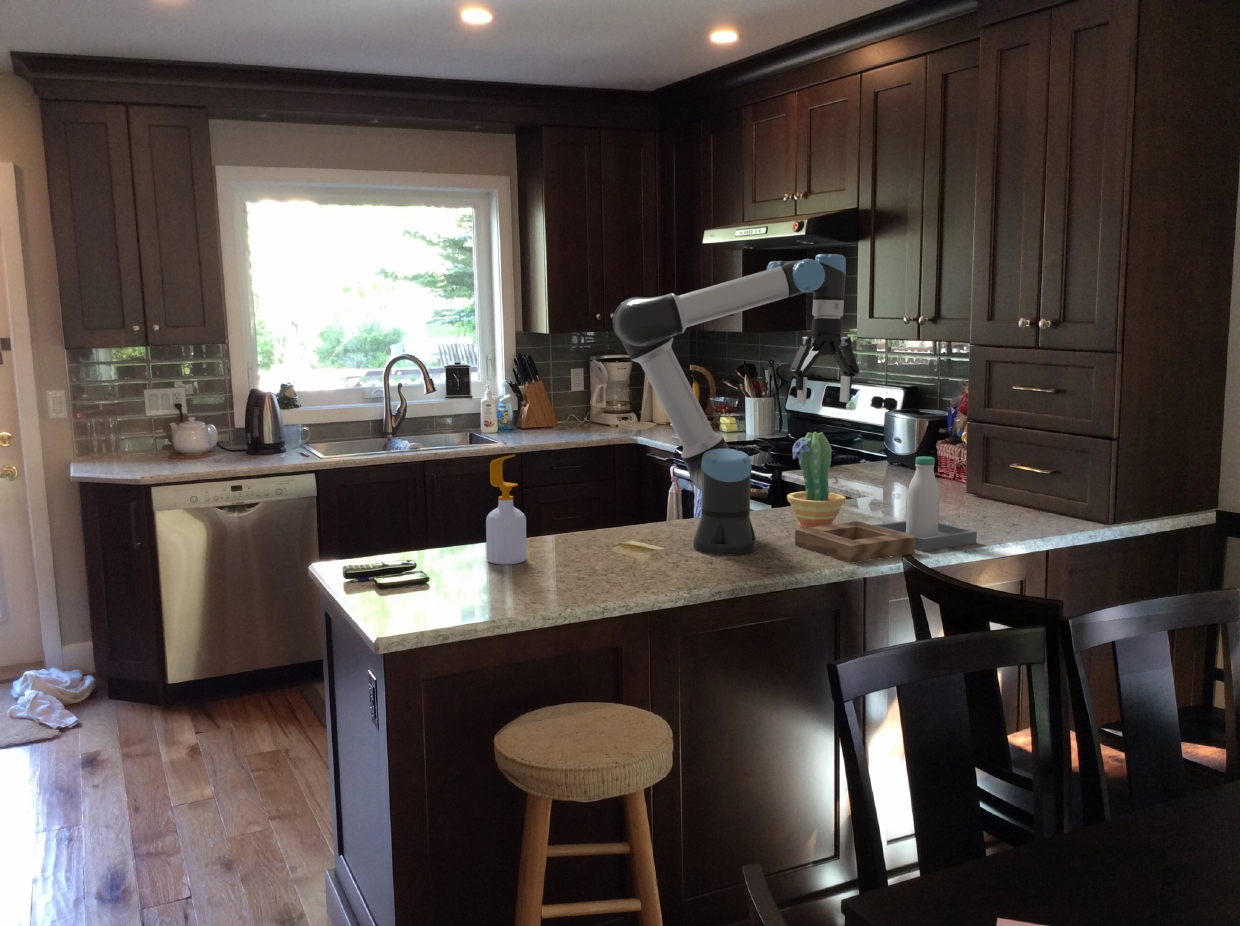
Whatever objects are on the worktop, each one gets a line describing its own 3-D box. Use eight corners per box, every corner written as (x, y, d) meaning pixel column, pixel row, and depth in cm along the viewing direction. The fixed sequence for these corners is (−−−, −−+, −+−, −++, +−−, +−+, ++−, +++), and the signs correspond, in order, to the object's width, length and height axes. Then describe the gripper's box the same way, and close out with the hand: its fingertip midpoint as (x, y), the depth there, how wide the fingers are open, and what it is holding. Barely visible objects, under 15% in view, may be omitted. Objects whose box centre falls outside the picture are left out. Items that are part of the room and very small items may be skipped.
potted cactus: (786, 518, 289) (789, 428, 286) (844, 521, 287) (847, 429, 283) (785, 530, 274) (787, 435, 271) (845, 533, 272) (849, 437, 268)
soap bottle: (510, 567, 236) (508, 458, 232) (478, 561, 241) (476, 455, 237) (534, 558, 244) (533, 453, 240) (503, 553, 248) (501, 450, 245)
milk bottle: (939, 540, 259) (943, 460, 256) (906, 538, 261) (910, 459, 258) (936, 533, 267) (939, 455, 264) (904, 532, 268) (908, 454, 265)
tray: (922, 551, 252) (923, 539, 252) (870, 536, 268) (871, 525, 267) (976, 543, 261) (976, 531, 260) (922, 529, 276) (923, 518, 276)
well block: (849, 563, 241) (850, 546, 240) (795, 545, 258) (795, 529, 257) (914, 553, 250) (915, 536, 250) (857, 536, 268) (858, 521, 267)
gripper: (796, 317, 253) (792, 405, 256) (876, 318, 265) (871, 402, 268) (777, 316, 259) (773, 402, 263) (856, 317, 271) (851, 400, 274)
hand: (823, 402), depth 265 cm, fingers open, 13 cm apart
